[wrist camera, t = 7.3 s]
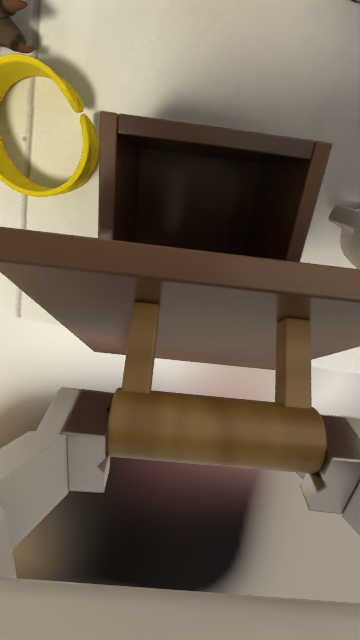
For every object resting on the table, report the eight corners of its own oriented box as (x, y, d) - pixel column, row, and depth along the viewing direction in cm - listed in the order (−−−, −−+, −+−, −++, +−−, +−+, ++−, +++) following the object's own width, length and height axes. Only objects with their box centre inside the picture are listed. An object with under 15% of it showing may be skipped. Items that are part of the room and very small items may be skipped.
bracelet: (37, 210, 26) (18, 215, 23) (-29, 102, 23) (-61, 92, 20) (116, 168, 25) (107, 167, 22) (57, 48, 22) (37, 28, 19)
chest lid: (-9, 223, 7) (-72, 460, 6) (472, 281, 7) (506, 508, 6) (95, 338, 19) (82, 421, 18) (274, 356, 19) (273, 438, 18)
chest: (132, 134, 24) (99, 110, 14) (272, 153, 25) (333, 142, 15) (124, 282, 29) (96, 341, 19) (241, 296, 29) (272, 359, 20)
